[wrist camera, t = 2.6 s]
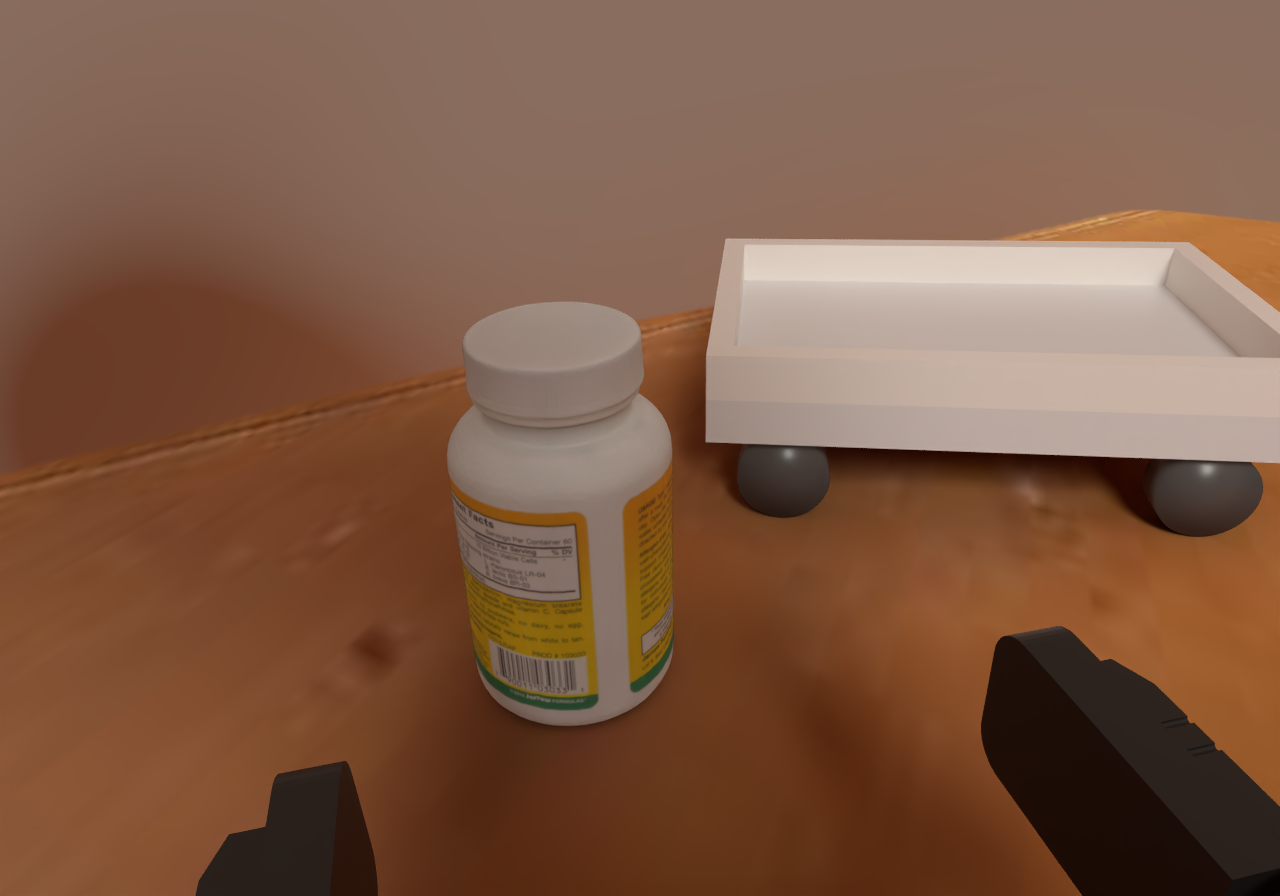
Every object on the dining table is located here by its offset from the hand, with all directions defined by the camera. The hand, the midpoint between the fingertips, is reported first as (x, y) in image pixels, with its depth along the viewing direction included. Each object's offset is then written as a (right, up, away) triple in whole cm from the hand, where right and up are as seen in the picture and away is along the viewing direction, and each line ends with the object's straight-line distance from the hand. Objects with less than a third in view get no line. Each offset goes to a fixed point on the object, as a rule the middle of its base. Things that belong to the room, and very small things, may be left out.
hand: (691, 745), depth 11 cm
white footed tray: (+11, +4, +24) cm, 26 cm away
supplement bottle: (-2, -2, +14) cm, 14 cm away
